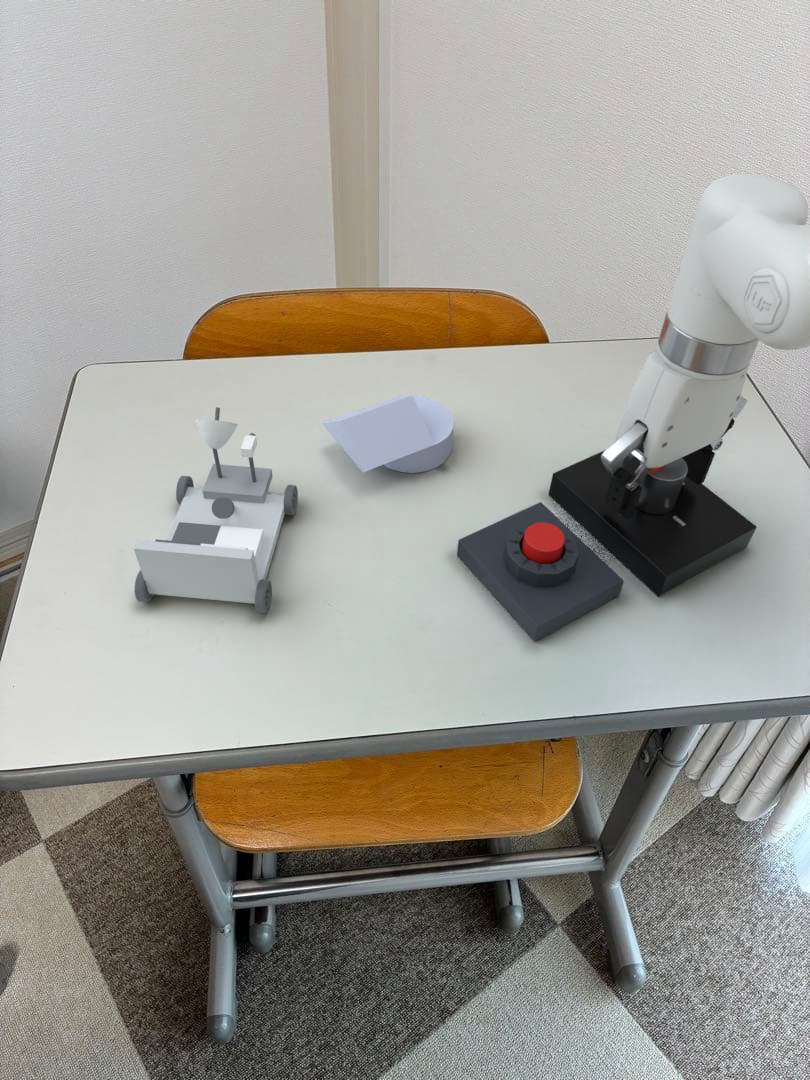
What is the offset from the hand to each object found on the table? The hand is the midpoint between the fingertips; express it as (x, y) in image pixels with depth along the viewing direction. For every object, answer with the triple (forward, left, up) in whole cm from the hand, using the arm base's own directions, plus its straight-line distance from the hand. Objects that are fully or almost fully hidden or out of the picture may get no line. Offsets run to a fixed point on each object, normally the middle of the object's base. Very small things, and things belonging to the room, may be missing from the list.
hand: (654, 492), depth 78 cm
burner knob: (0, 0, -1) cm, 1 cm away
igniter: (0, +14, -4) cm, 15 cm away
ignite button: (0, +14, 0) cm, 14 cm away
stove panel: (0, 0, -4) cm, 4 cm away
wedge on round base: (+22, +16, -4) cm, 28 cm away
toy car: (+19, +37, -4) cm, 42 cm away
